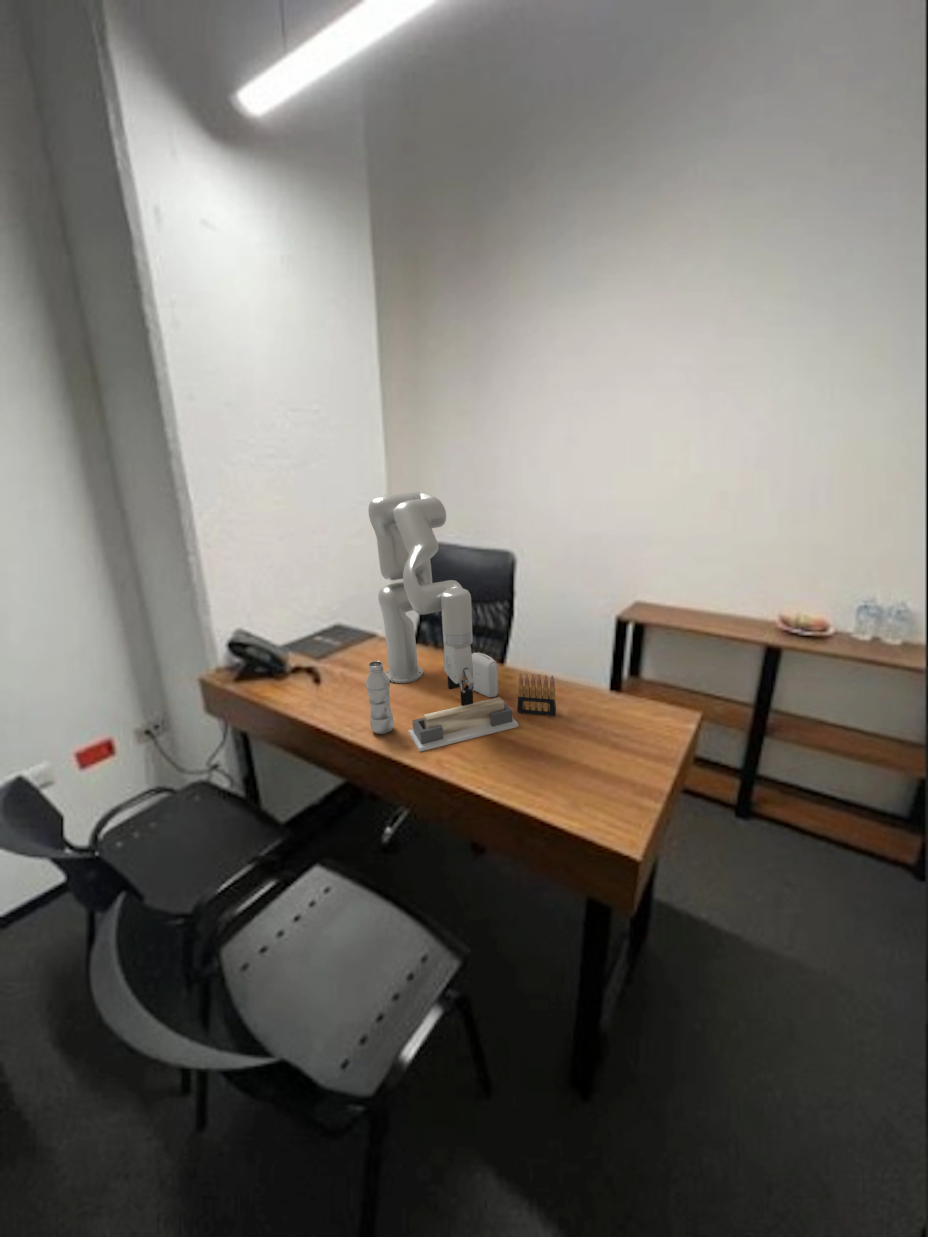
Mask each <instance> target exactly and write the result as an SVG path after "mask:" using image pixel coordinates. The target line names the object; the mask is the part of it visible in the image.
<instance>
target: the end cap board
mask: <svg viewBox="0 0 928 1237" xmlns="http://www.w3.org/2000/svg"><path fill="white" fill-rule="evenodd" d="M518 727H519V723H518V721H517V720H516V719H515V718H514V717H513V710H512V709H511V707H510V706H509V705H508V704H507V703H506V702H504V710H501V711H497V712H493V713H490V723H489V724H485V725H481V726H477V727H473V728H469V729H465V730H461V731H457V732H453V733H449V734H444V735H443V728H442V726H441V725H439V726H435V727H431V728H427V729H425V726H424V717H420V718H417V719H412V729H408V734H409V737H410V738H411V740H412V742H413V743H414V745H415V747H416V748H417V750H418V752H425V751H428V750H432V749H436V748H440V747H443V746H447V745H451V744H455V743H459V742H463V741H467V740H471V739H475V738H476V739H477V738H479V737H482V736H488V735H490V734H491V735H492V734H494V733H499V732H502V731H506V730H511V729H514V728H518Z"/></svg>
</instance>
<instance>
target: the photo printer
mask: <svg viewBox="0 0 928 1237" xmlns="http://www.w3.org/2000/svg"><path fill="white" fill-rule="evenodd" d="M472 663H473V680H474V684H473V692H477V693H479V694H481V695H483V696H485V697H488V698H496V697H497V696H498V694H499V679H498V678H499V677H498V676H499V674H498V664H497V661H496V660H495V659H494V658H493V657H491V656H489V655H487V654H485V653H482V652H473V653H472Z"/></svg>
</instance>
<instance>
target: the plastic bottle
mask: <svg viewBox="0 0 928 1237" xmlns="http://www.w3.org/2000/svg"><path fill="white" fill-rule="evenodd" d="M368 672H369V674H368V675H367V677H366V680H365V687H366V691H367V694H368V700H369V706H370V709H369V710H370V718H369V725H370V728H371V731H372V732H373V733H375V734H378V735H384V734H388V733H390V732H391V731H392V730H393V728H394V726H395V725H394V724H395V719H394V717H393V716H394V715H393V713H392V709H391V702H390V686H391V685H390V684H391V682H390V680H389V678H388V676H387V675H386V674H385V673H386V672H384V666H383V662H382V661H380V660H374V661H370V662H369V663H368Z"/></svg>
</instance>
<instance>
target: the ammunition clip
mask: <svg viewBox="0 0 928 1237" xmlns="http://www.w3.org/2000/svg"><path fill="white" fill-rule="evenodd" d="M535 678H536V677H535V674H534V673H533V674H532V675H531V677H530V680H529V675H528V673H526V674H525V676H524V679H523V675H522V673H520V672H519V675H518V682H517V713H518V714H528V715H537V716H547V715H549V717H556V714H557V708H556V706H557V705H556V688H555V678H554V675H551V677H550V679H549V680H548V676H547V674H545V675H544V677H543V684H542V678H541V675H540V674H538V675H537V681H536V679H535Z"/></svg>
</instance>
